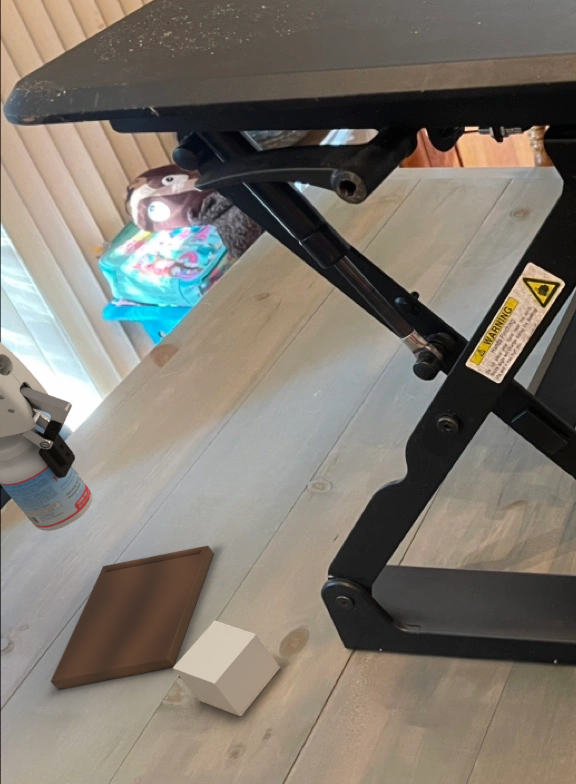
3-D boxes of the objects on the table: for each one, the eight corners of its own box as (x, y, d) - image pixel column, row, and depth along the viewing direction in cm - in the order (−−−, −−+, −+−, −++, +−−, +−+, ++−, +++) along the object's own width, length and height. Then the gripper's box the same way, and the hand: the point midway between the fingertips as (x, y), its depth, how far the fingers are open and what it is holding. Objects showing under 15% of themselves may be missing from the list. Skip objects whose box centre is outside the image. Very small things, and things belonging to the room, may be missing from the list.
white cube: (239, 653, 115) (214, 619, 112) (280, 667, 113) (256, 633, 109) (199, 701, 111) (172, 667, 108) (240, 717, 109) (214, 683, 105)
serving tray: (57, 689, 116) (49, 681, 115) (109, 573, 128) (102, 565, 127) (173, 667, 115) (166, 658, 114) (213, 553, 128) (208, 544, 127)
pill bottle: (98, 512, 114) (41, 438, 107) (39, 542, 112) (-23, 468, 105) (90, 481, 118) (35, 408, 111) (33, 510, 116) (-28, 437, 109)
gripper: (35, 303, 103) (127, 434, 114) (-137, 337, 104) (-28, 465, 114) (2, 350, 97) (103, 484, 108) (-180, 387, 98) (-61, 517, 109)
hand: (34, 473), depth 111 cm, fingers closed on pill bottle, 6 cm apart
